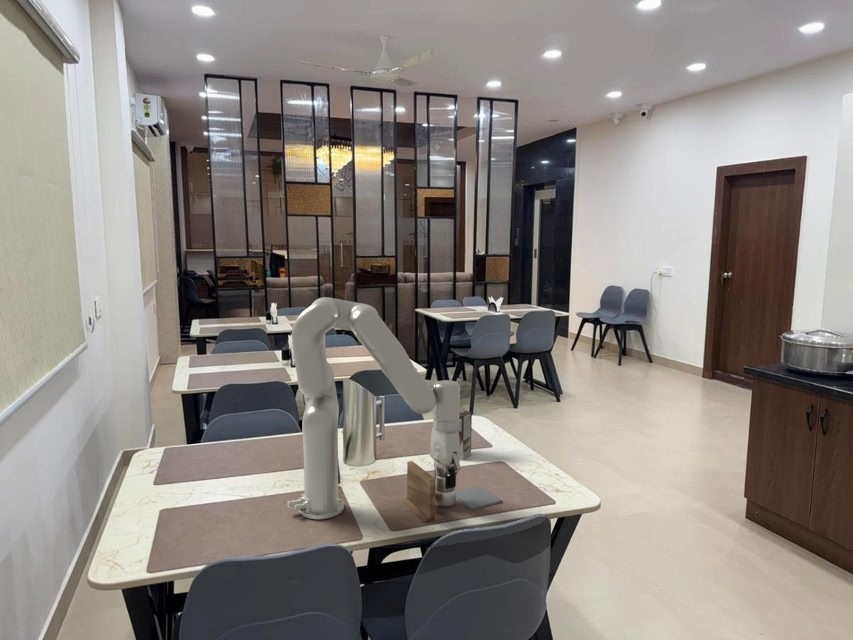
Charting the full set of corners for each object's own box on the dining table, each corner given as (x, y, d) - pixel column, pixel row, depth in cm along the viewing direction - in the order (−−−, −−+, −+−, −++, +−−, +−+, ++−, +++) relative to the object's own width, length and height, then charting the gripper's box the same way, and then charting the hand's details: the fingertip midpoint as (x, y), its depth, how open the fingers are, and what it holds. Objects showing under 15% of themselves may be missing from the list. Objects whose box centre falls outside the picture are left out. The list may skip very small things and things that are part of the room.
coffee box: (471, 455, 202) (472, 411, 200) (463, 460, 197) (464, 416, 195) (449, 449, 207) (450, 407, 205) (440, 455, 202) (441, 411, 200)
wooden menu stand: (424, 522, 153) (424, 481, 151) (401, 501, 165) (402, 462, 164) (440, 518, 155) (440, 477, 154) (416, 498, 168) (417, 460, 166)
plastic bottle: (454, 510, 160) (455, 443, 158) (431, 507, 162) (432, 441, 159) (457, 500, 167) (459, 435, 164) (435, 498, 168) (436, 433, 165)
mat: (470, 509, 161) (470, 507, 161) (451, 494, 170) (451, 492, 170) (502, 502, 166) (502, 500, 166) (481, 487, 176) (481, 485, 176)
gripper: (420, 417, 166) (419, 475, 169) (450, 435, 152) (448, 498, 154) (442, 413, 170) (441, 470, 173) (473, 430, 155) (471, 492, 158)
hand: (444, 483), depth 163 cm, fingers closed on plastic bottle, 5 cm apart
